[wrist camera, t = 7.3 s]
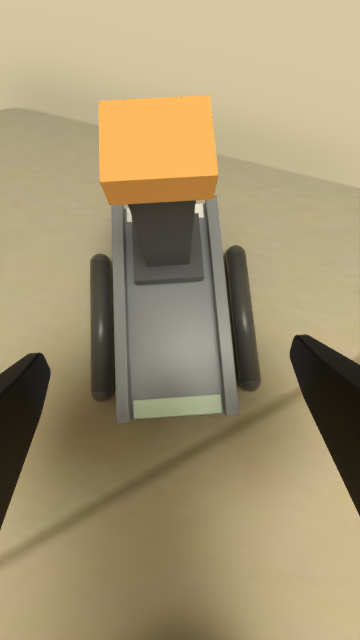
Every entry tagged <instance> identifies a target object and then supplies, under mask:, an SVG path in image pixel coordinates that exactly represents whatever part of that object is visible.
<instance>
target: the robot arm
mask: <svg viewBox="0 0 360 640" xmlns="http://www.w3.org/2000/svg"><path fill="white" fill-rule="evenodd" d="M290 359H291V362H292V365H293V368H294V371H295V374H296V377H297V380H298V383H299V386H300V389H301V392H302V394H303V397H304V399H305V401H306V403H307V405H308V408H309V410H310V412H311V414H312V416H313V418H314V420H315V422H316V425H317V427H318V429H319V431H320V433H321V435H322V437H323V439H324V441H325V444H326V446H327V448H328V450H329V452H330V454H331V456H332V458H333V461H334V463H335V465H336V467H337V469H338V471H339V473H340V475H341V477H342V480H343V482H344V484H345V486H346V488H347V490H348V492H349V494H350V496H351V499H352V501H353V503H354V505H355V507H356V509H357V511H358V513H359V516H360V365H359V364H357V363H356V362H354V361H352V360H350V359H349V358H347V357H345V356H343V355H342V354H340V353H338V352H337V351H335V350H333V349H331V348H330V347H328V346H326V345H324V344H323V343H321V342H319V341H318V340H316V339H314V338H312V337H311V336H309V335H306V334H304V335H296V336H295V337H294V338H293V342H292V346H291V349H290ZM50 374H51V372H50V368H49V366H48V364H47V361H46V359H45V357H44V355H43V354H42V353H30V354H27V355H26V356H25V357H23V358H22V359H20V360H19V361H18V362H16V363H15V364H13V365H12V366H11V367H9V368H8V369H6V370H5V371H4V372H2V373H1V374H0V529H1V526H2V523H3V520H4V518H5V515H6V512H7V509H8V506H9V504H10V501H11V498H12V495H13V492H14V490H15V487H16V484H17V481H18V478H19V476H20V473H21V470H22V467H23V464H24V461H25V459H26V456H27V453H28V450H29V447H30V445H31V442H32V439H33V436H34V433H35V431H36V428H37V425H38V422H39V419H40V416H41V413H42V409H43V405H44V401H45V396H46V392H47V388H48V384H49V379H50Z"/></svg>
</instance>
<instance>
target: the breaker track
mask: <svg viewBox="0 0 360 640" xmlns="http://www.w3.org/2000/svg"><path fill="white" fill-rule="evenodd" d="M111 208H112V252H113V296H114V340H115V384H116V424H125V423H129V422H130V421H131V420H141V419H155V418H168V417H182V416H196V415H210V414H224V413H225V414H226V415H227V416H236V415H239V406H238V397H237V387H236V377H235V368H234V358H233V349H232V339H231V329H230V320H229V310H228V300H227V291H226V281H225V271H224V262H223V252H222V243H221V233H220V223H219V214H218V204H217V195H214V199H209V200H205V204H195V212H194V213H199V223H200V235H201V246H202V257H203V268H204V279H203V280H201V281H185V282H169V283H154V284H138V285H136V284H135V282H134V268H133V241H132V215H131V212H130V209H129V208H127V209H125V208H124V205H111ZM226 265H227V274H228V284H229V293H230V303H231V312H232V322H233V331H234V341H235V350H236V360H237V369H238V378H239V384H240V386H241V387H242V388H243V389H244V390H246V391H249V392H252V391H255V390H257V389H258V388H259V386H260V384H261V378H260V370H259V361H258V353H257V345H256V337H255V328H254V320H253V312H252V303H251V295H250V287H249V278H248V270H247V262H246V254H245V251H244V249H243V248H242V247H241V246H237V245H235V246H232V247H230V248H229V249H228V250H227V252H226ZM90 289H91V394H92V397H93V398H94V400H96V401H98V402H105V401H107V400H109V399H110V398H111V397H112V395H113V392H114V383H113V337H112V290H111V262H110V259H109V258H108V257H107V256H106V255H104V254H96V255H94V256H93V257H92V259H91V261H90Z"/></svg>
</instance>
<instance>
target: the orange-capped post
mask: <svg viewBox="0 0 360 640" xmlns="http://www.w3.org/2000/svg"><path fill="white" fill-rule="evenodd" d="M99 163H100V184H101V186H102V188H103V191H104V193H105V195H106V198H107V200H108V202H109V205H123V204H128V206H129V209H130V212H131V215H132V241H133V268H134V282H135V284H136V285H138V284H154V283H169V282H185V281H201V280H203V279H204V268H203V257H202V246H201V235H200V223H199V213H194V212H195V203H196V200H209V199H214V194H215V189H216V184H217V179H218V168H217V158H216V149H215V140H214V131H213V121H212V112H211V102H210V95H206V96H187V97H167V98H150V99H149V98H148V99H129V100H112V101H111V100H109V101H99Z"/></svg>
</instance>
